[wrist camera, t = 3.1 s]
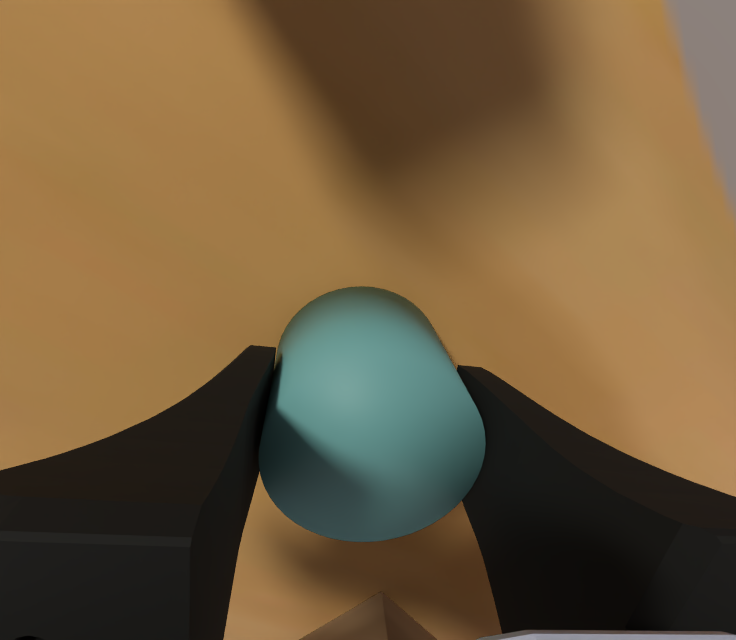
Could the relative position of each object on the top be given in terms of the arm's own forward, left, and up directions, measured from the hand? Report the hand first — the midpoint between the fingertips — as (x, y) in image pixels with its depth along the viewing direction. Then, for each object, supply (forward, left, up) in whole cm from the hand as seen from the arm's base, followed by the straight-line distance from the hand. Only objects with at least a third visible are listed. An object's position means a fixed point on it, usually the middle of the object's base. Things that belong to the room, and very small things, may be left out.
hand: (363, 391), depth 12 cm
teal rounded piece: (0, 0, -1) cm, 1 cm away
